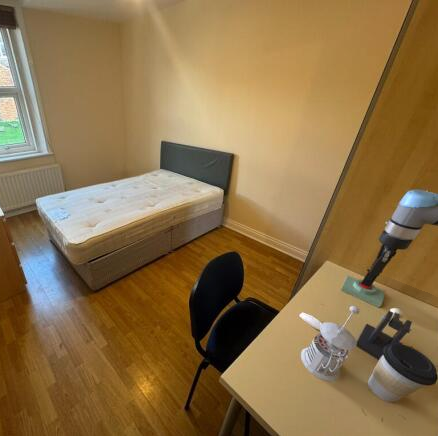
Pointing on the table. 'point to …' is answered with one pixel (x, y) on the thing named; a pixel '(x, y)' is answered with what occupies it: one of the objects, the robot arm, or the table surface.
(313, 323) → the white rounded bar
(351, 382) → the table surface
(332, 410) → the table surface
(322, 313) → the table surface
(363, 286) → the power button
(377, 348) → the black lever stand
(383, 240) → the robot arm
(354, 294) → the button block
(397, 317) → the lever switch
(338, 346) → the french press
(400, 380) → the coffee cup
